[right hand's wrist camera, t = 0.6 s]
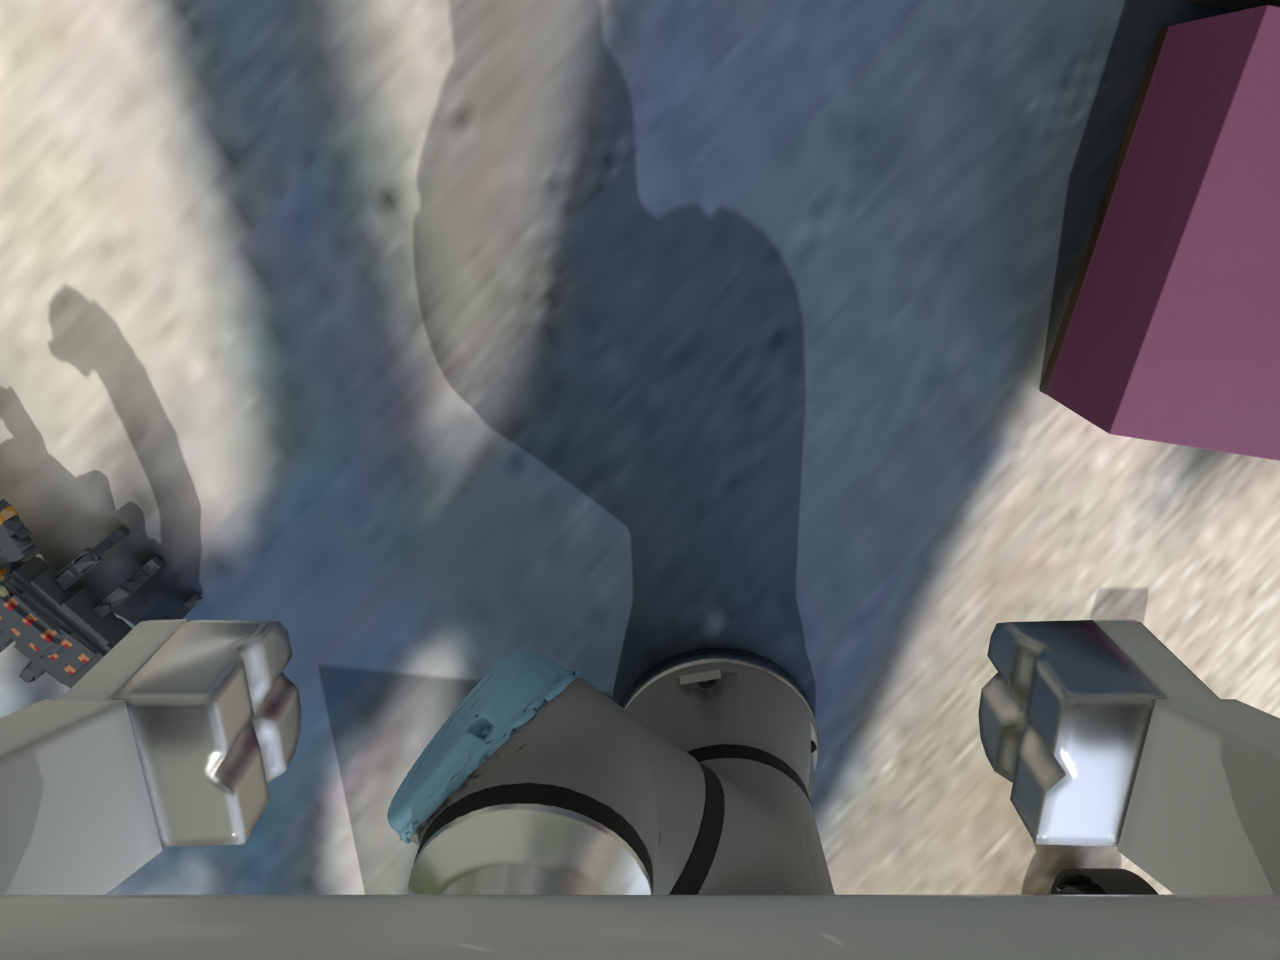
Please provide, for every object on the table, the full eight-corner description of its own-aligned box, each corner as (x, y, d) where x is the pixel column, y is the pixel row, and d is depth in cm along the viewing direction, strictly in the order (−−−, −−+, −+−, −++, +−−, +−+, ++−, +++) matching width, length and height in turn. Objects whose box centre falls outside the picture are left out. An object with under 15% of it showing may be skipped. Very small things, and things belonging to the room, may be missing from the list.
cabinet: (1160, 27, 50) (1267, 3, 41) (1356, 63, 50) (1501, 47, 42) (1039, 390, 57) (1108, 434, 49) (1210, 417, 58) (1308, 465, 50)
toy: (175, 773, 68) (20, 985, 51) (-123, 527, 61) (-422, 679, 44) (295, 683, 65) (173, 876, 48) (-3, 411, 58) (-273, 526, 41)
